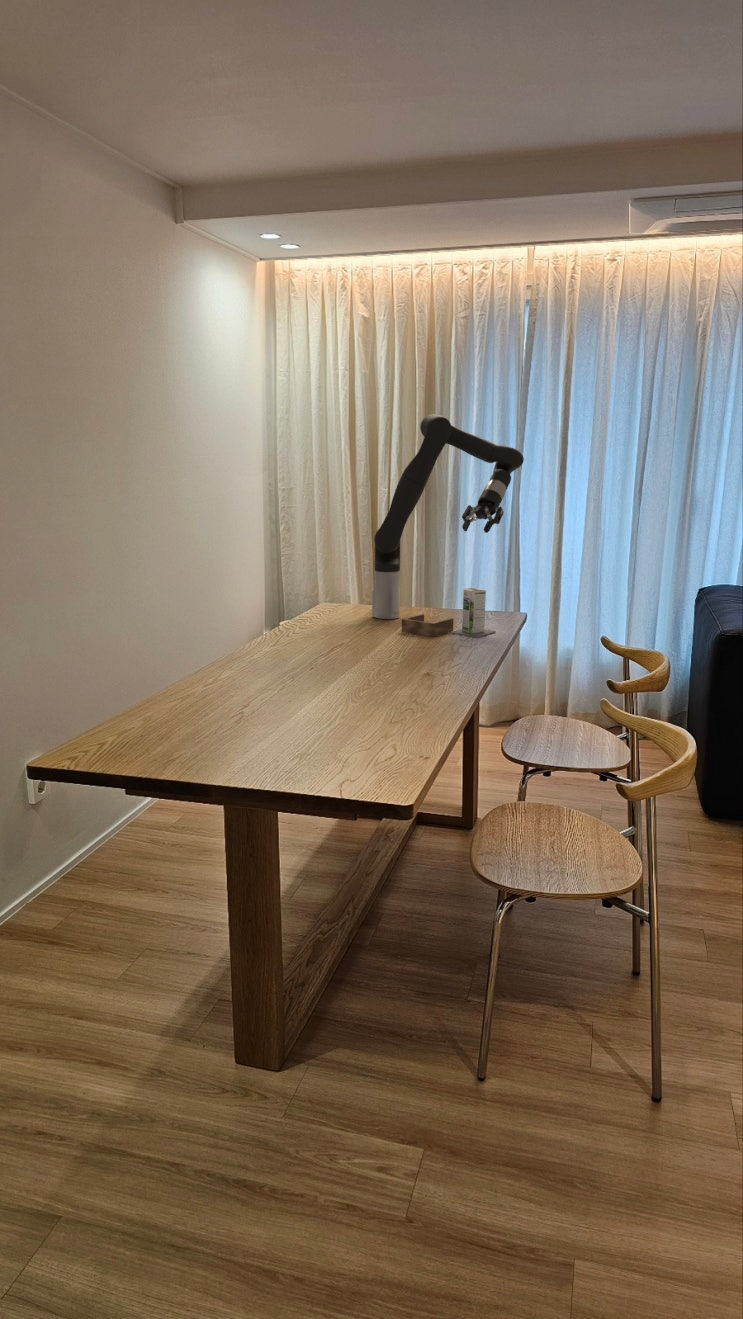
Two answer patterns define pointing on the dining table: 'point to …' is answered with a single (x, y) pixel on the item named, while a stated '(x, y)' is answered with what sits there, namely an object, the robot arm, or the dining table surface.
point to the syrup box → (473, 610)
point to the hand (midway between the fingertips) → (474, 530)
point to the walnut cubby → (426, 626)
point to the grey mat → (481, 634)
